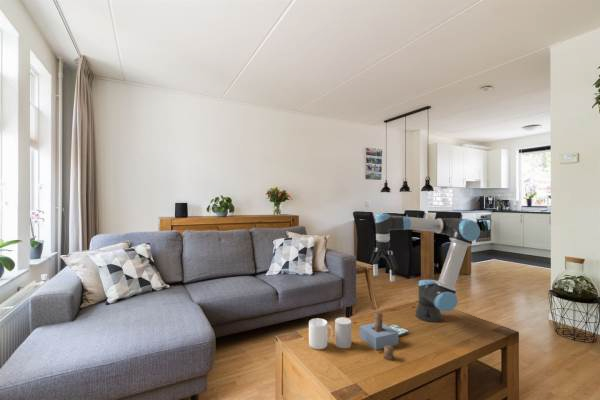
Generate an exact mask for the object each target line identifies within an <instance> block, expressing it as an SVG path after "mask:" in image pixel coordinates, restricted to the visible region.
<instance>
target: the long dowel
mask: <svg viewBox="0 0 600 400" xmlns="http://www.w3.org/2000/svg"><path fill="white" fill-rule="evenodd" d="M383 318H384V315H383V313H382V312H378V311H377V312H374V323H375V331H376V332H381V331H382V323H383Z"/></svg>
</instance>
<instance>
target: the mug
mask: <svg viewBox="0 0 600 400" xmlns="http://www.w3.org/2000/svg"><path fill="white" fill-rule="evenodd" d="M328 328H329V329H330V331H331V334H330V337H328V334H329V333H328V331H329V330H328ZM333 331H334V330H333V327H332V326H331V325H329V324H328V321H327V320H326V319H324V318H319V317H316V318H312V319H310V320H309V321H308V345H309V347H310V348H311V349H314V350H317V351H320V350H324V349H326V348H327V347H328V341H330V340H332V338H333V336H334V335H333V334H334V333H333Z"/></svg>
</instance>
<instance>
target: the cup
mask: <svg viewBox="0 0 600 400" xmlns="http://www.w3.org/2000/svg"><path fill="white" fill-rule="evenodd" d="M334 335H335V337H334V345H335V346H336V347H337V348H340V349H349V348H351V346H352V320H351V318H347V317H344V316H343V317H337V318H335V320H334Z"/></svg>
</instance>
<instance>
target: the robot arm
mask: <svg viewBox="0 0 600 400" xmlns="http://www.w3.org/2000/svg"><path fill="white" fill-rule="evenodd" d="M398 230H399V231H402V230H403V231H405V230H415V231H425V232H435V233H436V234H441V235H446V236H448V237H449V238H448V239H449V241H450V245H449V247H448V251H447V253H446V258H445V260H444V263H443V265H442V269H441V273H440V274H439V277H438V280H435V279H421V280H418V284H417V285H418V304H417V306H416V309H415V317H416V318H417V319H418V320H419V319H420V320H422V321H424V322H428V323H438V322H441V321H442V320H443V315H442V313H441V311H442V312H446V313H447V312H451V311H453V310H454V309H455V308H456V307H457V305H458V302H459V301H458V298H457V296H456V293H457V288H456V287H455V286H456V283H457V279H458V276H459V274H460V271H461V267H462V265H463V262H464V258H465V255H466V252H467V249H468V247H471V246H472V244H473V242H474V241H476V240H477V239H479V237H480V235H481V229H480V226H479V223H477V222H476V221H474V220H472V219H468V218H457V217H456V218H455V217H451V218H449V217H447V218H445V217H444V218H443V217H442V218H440V217H439V218H436V219H433V218H425V217H424V218H421V217H412V216H402V215H392V214H389V213H377V214H376V215H375V241H376V242H375V246H376V247H373V249H372V254H371V258H370V260H369V261H370V263H371V264H372V269H373V276H374V277H375V276H379V261H380V259H381V258H383V259H384V260H386V263H387V264H388V266H389V268H390V269H389V282H390V283H391V282H395V281H396V270H398V269H399V266H398V262H397V260H396V258H395V253H394V250H390V247H391V242H390V240H391V237H390V236H391V235H390V233H391V232H390V231H398Z"/></svg>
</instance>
